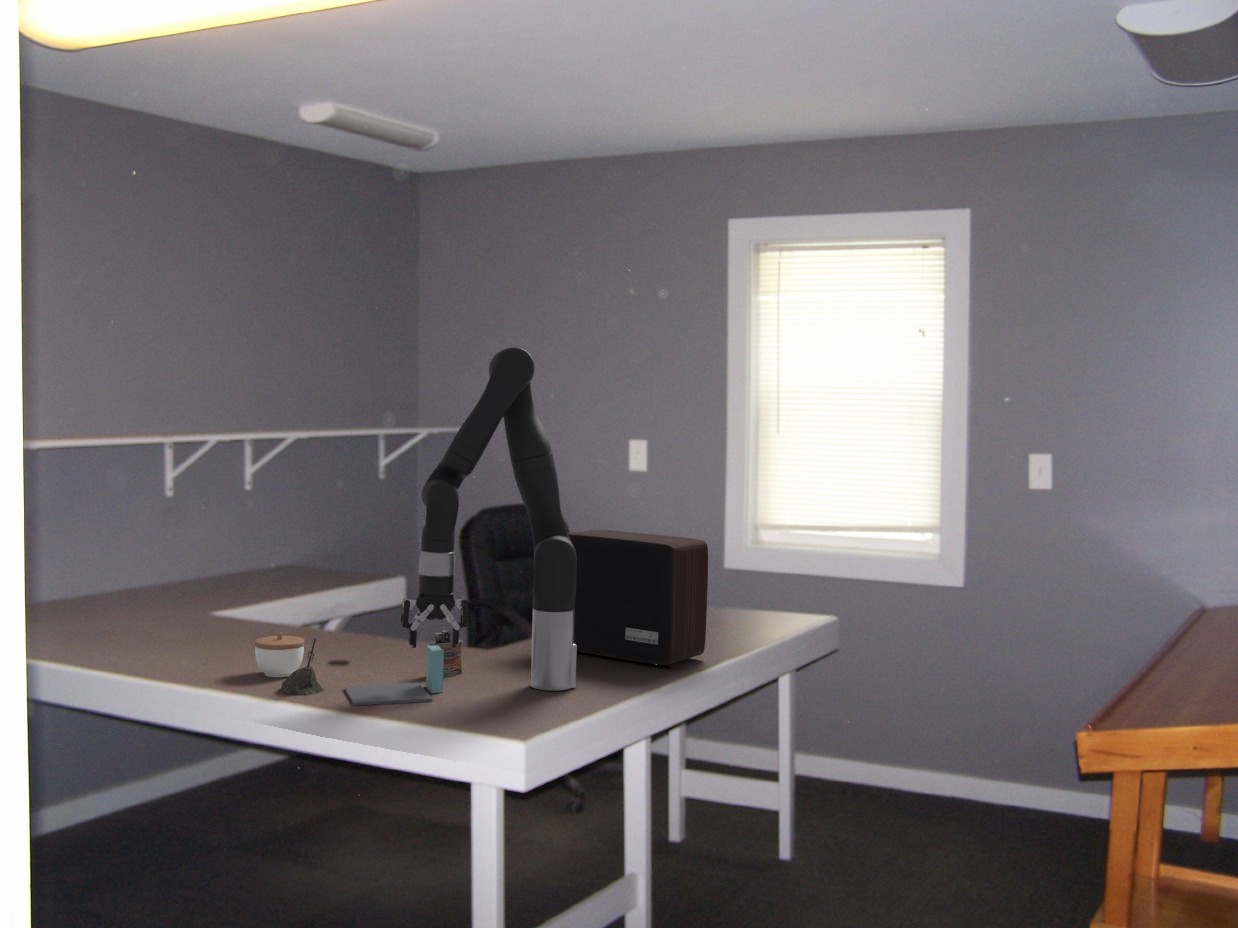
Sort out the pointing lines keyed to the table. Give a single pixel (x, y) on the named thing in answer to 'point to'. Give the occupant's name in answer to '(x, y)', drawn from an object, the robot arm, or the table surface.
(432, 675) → the tile
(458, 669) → the lighter
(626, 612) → the radio
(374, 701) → the mat
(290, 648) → the lidded jar
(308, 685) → the sword in stone
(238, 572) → the table surface
